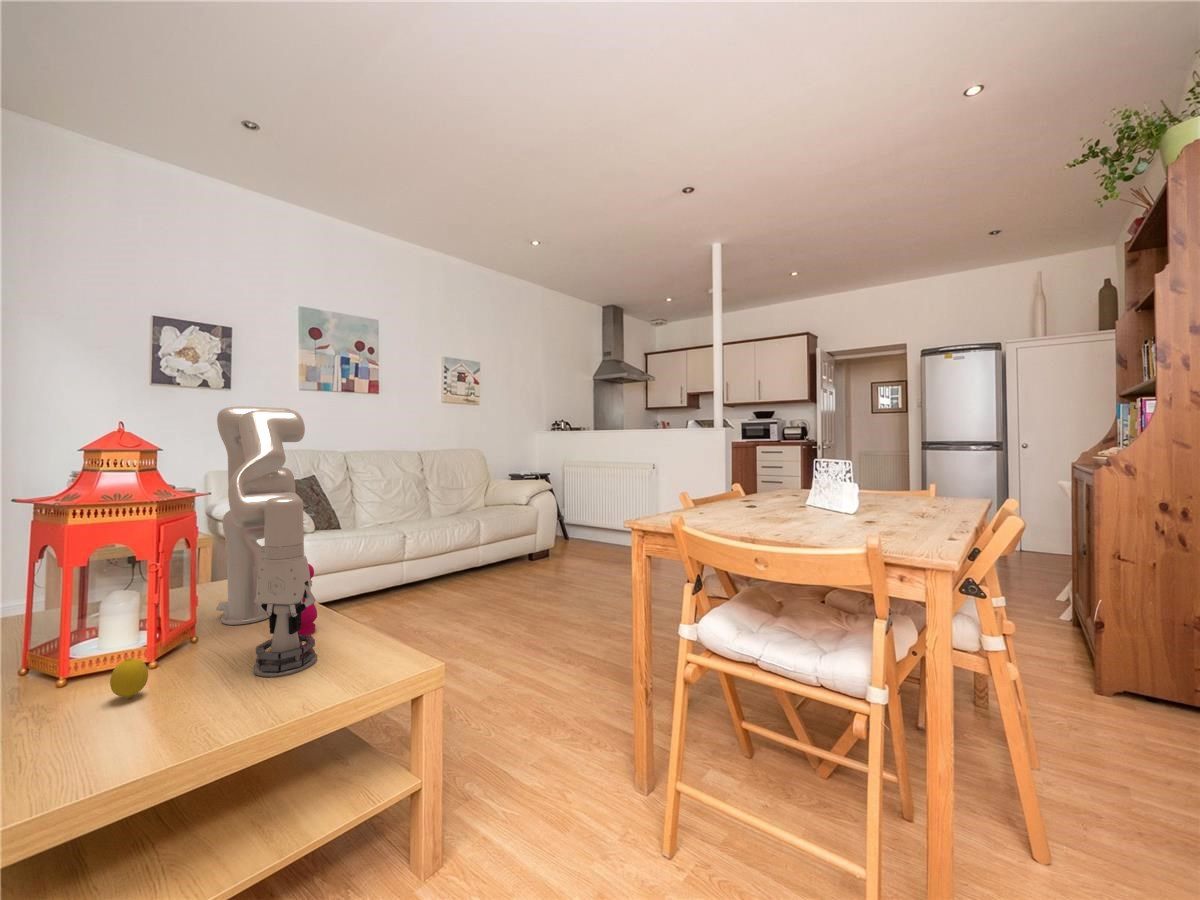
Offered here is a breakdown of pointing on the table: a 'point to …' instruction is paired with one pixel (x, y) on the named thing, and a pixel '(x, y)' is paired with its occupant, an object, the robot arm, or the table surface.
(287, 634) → the salt shaker
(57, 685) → the table surface
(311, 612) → the pepper mill
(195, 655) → the table surface
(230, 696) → the table surface
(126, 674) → the lemon
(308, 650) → the collar stand
